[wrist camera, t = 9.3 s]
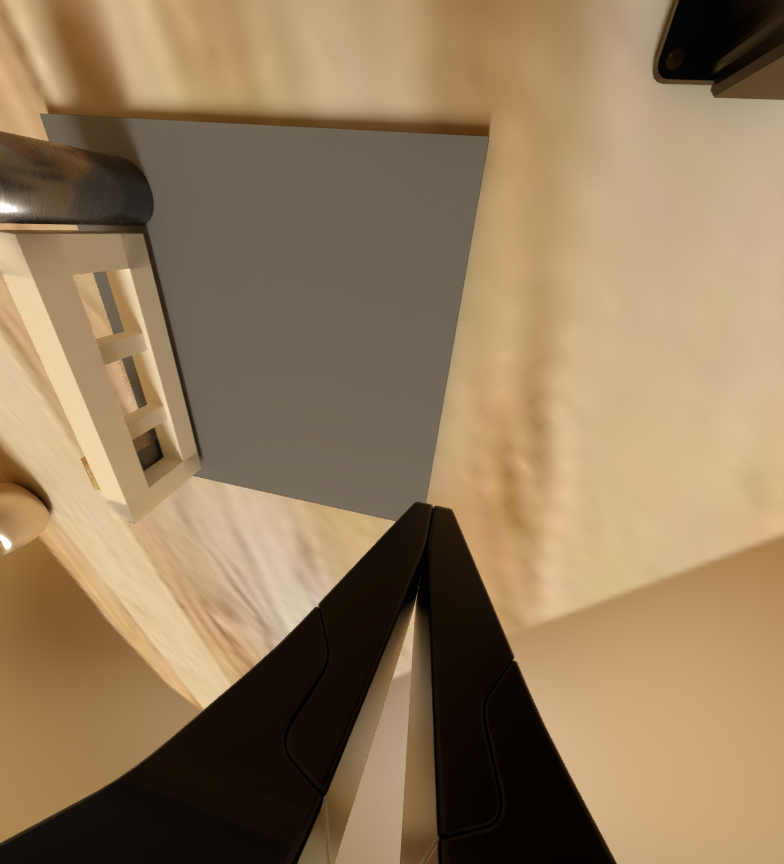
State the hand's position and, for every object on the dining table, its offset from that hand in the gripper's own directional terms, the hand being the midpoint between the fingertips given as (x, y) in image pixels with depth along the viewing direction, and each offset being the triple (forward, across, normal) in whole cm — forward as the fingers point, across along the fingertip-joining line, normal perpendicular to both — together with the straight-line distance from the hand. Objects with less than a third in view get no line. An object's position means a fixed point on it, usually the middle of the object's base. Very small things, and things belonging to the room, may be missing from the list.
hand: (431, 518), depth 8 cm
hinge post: (+13, +18, -6) cm, 23 cm away
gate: (+12, +19, +4) cm, 22 cm away
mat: (+13, +12, +2) cm, 17 cm away
